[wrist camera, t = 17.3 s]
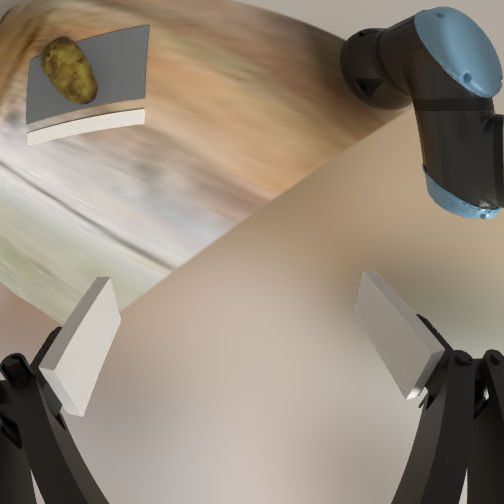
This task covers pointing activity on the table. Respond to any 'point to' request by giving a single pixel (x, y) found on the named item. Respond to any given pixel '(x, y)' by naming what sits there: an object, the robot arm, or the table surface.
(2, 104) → the table surface
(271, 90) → the table surface
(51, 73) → the potato
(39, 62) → the mat
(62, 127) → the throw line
